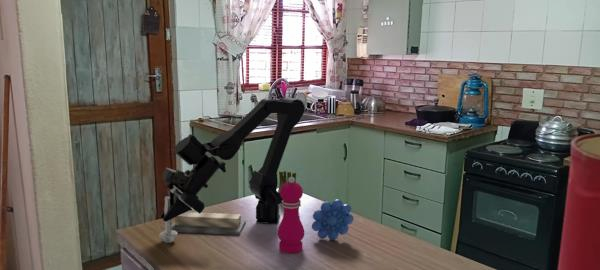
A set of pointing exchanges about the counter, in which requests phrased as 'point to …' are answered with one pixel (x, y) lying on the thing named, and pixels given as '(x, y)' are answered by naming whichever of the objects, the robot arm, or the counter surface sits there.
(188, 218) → the stand
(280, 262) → the counter surface
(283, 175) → the fennel bulb
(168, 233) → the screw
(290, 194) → the pepper mill
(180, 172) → the robot arm
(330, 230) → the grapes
